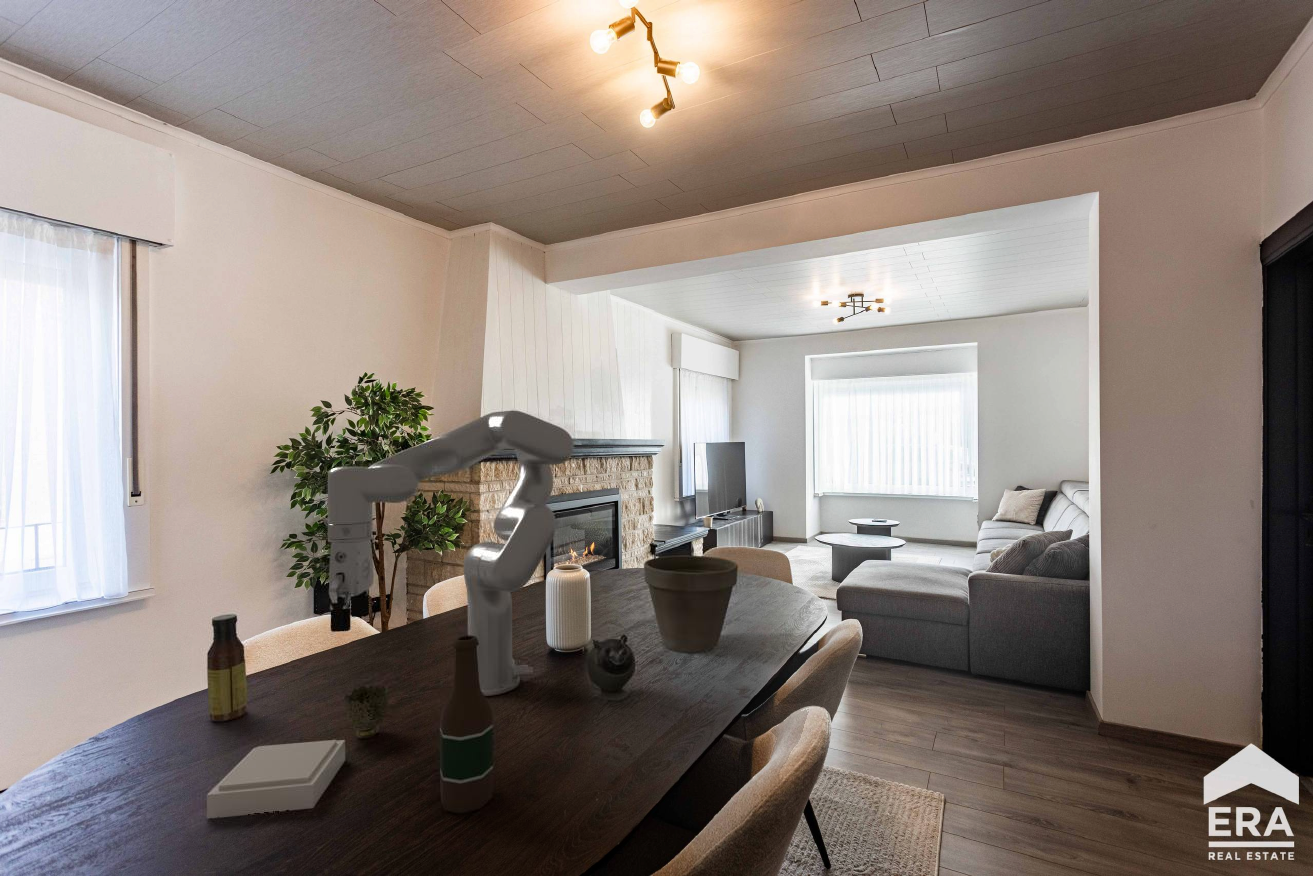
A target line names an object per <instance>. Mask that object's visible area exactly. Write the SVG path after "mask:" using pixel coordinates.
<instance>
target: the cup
mask: <svg viewBox="0 0 1313 876" xmlns="http://www.w3.org/2000/svg"><path fill="white" fill-rule="evenodd" d="M351 691H352V692H351V694H349V693H347V692H346V693H345V695H344V703H345V711H346V718H347V721H348V723H349V725H350V727H351V729H354V730H355V731H356V732H355V734H356V736H357V738H358V739H363V740H364V739H370V738H373V737H374V736H376V735H377V733H378V731H379V726H380V725H381V724H382V723H383V722H384V720H385V718H386V715H387V713H388V712H387V710H388V704H389V696H390V695H389V693H390V688H389V687H388V685H387V686H386V687H385V686H384V684H382V685H380V684H377V685H376V686H375V688H374V685H373V684H371V685H370V686H369V687H366V685H361V686H360V687H358V689H357V688H356V687H355V688H352V690H351Z"/></svg>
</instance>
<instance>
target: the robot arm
mask: <svg viewBox="0 0 1313 876" xmlns="http://www.w3.org/2000/svg"><path fill="white" fill-rule="evenodd" d="M574 448H575V444H574V441H573V438H572V436H571V434H570V433H569V432H568V431H567V430H565V429H564V428H562V427H560V426H558V425H555V424H553V423H551V422H548V421H545V420H544V419H541V418H538V417H536V416H534V415H531V414H528V413H525V412H523V411H519V410H513V409H512V410H504V411H494V412H490V413H488V414H485V415H482V416H480V417H478V418H476V419H474V420H472V421H470V422H468V423H466V424H463V425H462V426H460V427H458V428H454V429H453V430H451V431H448V432H447V433H444V434H442V435H439V436H437V437H434V438H432V439H429V440H426V441H424V442H421V443H420V444H418V445H415V446H412V447H408V448H407V449H404V450H402V451H400V452H397V453H394V454H392V455H390V456H388V457H386V458H384V459H382V460H379V461H377V462H375V463H373V464H371V465H369V466H368V467H366V466H337V467H336V466H335V467H334V468H331V469H330V470H329V471H328V474H327V542H328V543H331V544H330V545H331V546H330V555H329V556H330V557H329V570H328V571H329V572H328V573H329V575H328V576H329V577H328V578H329V579H328V583H329V588H328V595H329V600H328V601H329V605H330V606H329V611H330V631H331V632H334V633H335V632H348V631H350V630H351V622H352V621H351V618H361V617H364V618H365V617H369V615H370V588H371V587H372V586H373V585H374V562H373V548H372V541H371V540H372V539H373V503H384V504H385V503H387V504H400V503H404V502H406V501H408V500H409V501H410V499H412V498H413V497H414V496H415V494H416V493H417V491H418V489H419V482H421V481H424V480H428V479H430V478H434V477H438V476H445V475H450V474H454V473H458V472H461V471H464V470H466V469H467V468H469V467H471V466H473V465H475V464H476V463H478V462H481V461H482V460H484V459H487V458H488V457H490V456H492V455H494V454H496V453H497V452H500V451H502V450H514V451H515V456H516V458H517V462H518V467H519V475H518V479H517V481H516V483H515V485H514V487H513V489H512V490H511V492H510V493H509V494H508V496H507V498H506V500H505V501H504V503H503V505H502V506H501V508H500V509H499V511H498V513H497V514H496V516H495V519H494V521H493V531H494V533H495V535H496V536H497V537H498V538H499V539H501V540H502V541H505V542H506V543H500V542H495V541H483V542H479V543H476V544H475V545H473V546H471V548H470V549H469V550H468V551H467V553H466V554H465V557H464V561H463V566H462V567H463V577H464V582H465V588H466V589H465V590H466V599H467V635H470V636H476V638H477V639H478V643H479V645H478V646H477V657H478V672H479V683H480V688H481V691H482V693H483V694H484V696H485V697H490V696H496V695H501V694H505V693H507V692H510V691H512V690H514V689H516V688H517V687H518V686H519V685H520V681H521V679H520V677H534V673H533V672H534V668H533V666H529V665H528V664H523V665H518V664H515V663H516V662H515V661H516V660H515V659H514V658H513V599H512V594H511V592H512V593H513V592H517V591H519V590H520V589H522V588H524V587H525V586H526V585H527V583H528V582H529V581H530V580H531V578H532V577H533V575H534V573H535V572H536V570H537V568H538V566H539V565H540V563H541V561H542V559H543V557H544V556H545V555H546V552H547V551H548V549H549V546H550V545H551V543H552V542H553V540H554V537H555V534H556V529H557V521H556V515H555V514H554V511H553V510H552V509H551V508H550V507H549V506H547V503H548V502H549V499H550V497H551V495H552V493H553V490H554V489H553V488H554V477H553V476H554V475H553V471H552V468H551V466H555V465H556V466H557V465H561V464H565V463H566V462H567V461H568V460H569V459H570V458H571V457H572V455H573V453H574ZM343 598H344V599H343ZM349 605H350V607H349Z"/></svg>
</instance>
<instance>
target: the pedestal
mask: <svg viewBox="0 0 1313 876" xmlns="http://www.w3.org/2000/svg"><path fill="white" fill-rule="evenodd" d="M345 761H346V739H341V740H337V739H331V740H317V741H306V742H304V741H303V742H296V743H285V744H284V743H281V744H272V745H271V744H270V745H269V744H268V745H258V746H257V747H253V749H251V750H250V751H249V753H248V754H246V756H245V757H244V758H243V759H241V760H240V761H239V762H238V763H237V764H236V765H235V766H234V767H233V769H231V770H230V771H229V772H228V773H227V774H226V776H223V778H222V779H221V780H220V781H219V782H218V783H217V784H216V785H215V786H214V787H213V788H212V789H211V790H210V791H209V792H208V793H207V795H206V819H207V820H209V819H210V818H211V819H219V818H220V819H221V818H227V817H228V818H230V817H238V816H249V815H248V814H250V815H255V814H254V813H260V814H265V813H264V812H269V813H276V812H275V811H279V812H287V811H286V810H289V811H297V810H298V811H299V810H306V809H313V808H314V807H316V804H317V803H318V801H319V800H320V798H321V796H322V795H323V794H324V793H325V791H326V789H327V788H328V787H329V786H330V784H331V783H332V781H333V779H334V778H335V776H336V775H337V773H338V772H339V770H340V768H341V767H342V766H343V765H344V763H345ZM273 811H274V812H273ZM218 817H219V818H218Z"/></svg>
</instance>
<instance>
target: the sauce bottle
mask: <svg viewBox="0 0 1313 876" xmlns="http://www.w3.org/2000/svg"><path fill="white" fill-rule="evenodd" d="M237 623H238V617H237V614H234V613H229V614H222V615H218V616H215V617H213V618H212V619H211V625H212V628H213V631H212V632H213V638H212V639H213V641H212V643H211V645H210V647H209V650H208V651H207V654H206V657H207V659H206V661H207V663H206V665H207V666H206V669H207V670H206V673H207V678H206V679H207V695H208V697H207V698H208V713H209V719H210V720H211V721H212V722H217V723H218V722H219V723H221V722H227V721H232V720H235V719H238V718H240V717H242V716H244V715H245V713H246V712H247V708H248V707H247V704H248V693H247V692H248V691H247V671H246V670H247V667H246V659H245V645H244V644H243V643H242V641H241V640H240V639H239V637H238V634H237Z"/></svg>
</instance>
